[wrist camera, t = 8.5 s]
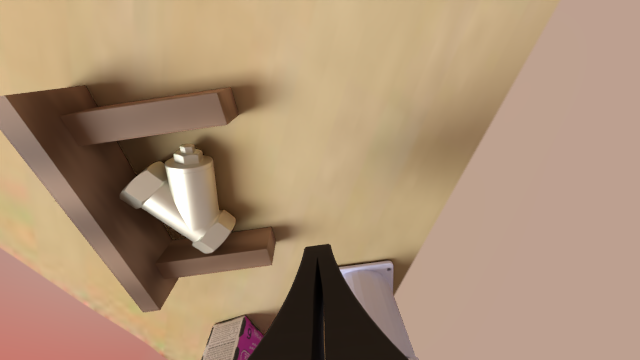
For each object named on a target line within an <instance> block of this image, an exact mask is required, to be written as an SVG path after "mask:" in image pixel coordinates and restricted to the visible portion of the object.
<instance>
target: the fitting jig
mask: <svg viewBox="0 0 640 360" xmlns="http://www.w3.org/2000/svg"><path fill="white" fill-rule="evenodd" d="M238 115H239V114H238V110H237V107H236V103H235V100H234V97H233V93H232V90H231V87H229V88H222V89H215V90H209V91H202V92H195V93H188V94H182V95H175V96H168V97H162V98H155V99H148V100H141V101H135V102H128V103H121V104H114V105H108V106H101V107H97V105H96V104H95V102H94V100H93V98H92V96H91V95H90V93H89V91H88V89H87V87H86V86H85V85H84V86H76V87H68V88H61V89H53V90H45V91H37V92H29V93H21V94H13V95H5V96H0V130H1V131H2V132H3V134H4V135H5V136H6V138H7V139H8V140H9V141H10V143H11V144H12V145H13V147H14V148H15V149H16V150H17V152H18V153H19V154H20V155H21V157H22V158H23V159H24V161H25V162H26V163H27V164H28V166H29V167H30V168H31V170H32V171H33V172H34V173H35V175H36V176H37V177H38V178H39V180H40V181H41V182H42V184H43V185H44V186H45V187H46V189H47V190H48V191H49V193H50V194H51V195H52V196H53V198H54V199H55V200H56V202H57V203H58V204H59V205H60V207H61V208H62V209H63V210H64V212H65V213H66V214H67V216H68V217H69V218H70V219H71V221H72V222H73V223H74V225H75V226H76V227H77V228H78V230H79V231H80V232H81V233H82V235H83V236H84V237H85V239H86V240H87V241H88V242H89V244H90V245H91V246H92V248H93V249H94V250H95V251H96V253H97V254H98V255H99V257H100V258H101V259H102V260H103V262H104V263H105V264H106V265H107V267H108V268H109V269H110V271H111V272H112V273H113V274H114V276H115V277H116V278H117V280H118V281H119V282H120V283H121V285H122V286H123V287H124V288H125V290H126V291H127V292H128V294H129V295H130V296H131V297H132V299H133V300H134V301H135V303H136V304H137V305H138V306H139V308H140V309H141V310H142V312H150V311H157V310H160V309H161V307H162V306H163V304H164V302H165V301H166V299H167V297H168V295H169V294H170V292H171V290H172V289H173V287H174V285H175V283H176V282H177V280H178V278H179V277H186V276H194V275H201V274H209V273H216V272H224V271H231V270H239V269H246V268H254V267H261V266H269V265H272V261H273V256H274V250H275V244H276V241H275V238H274V234H273V231H272V227H267V228H260V229H252V230H245V231H238V232H231V233H230V234H229V236H228V237H227V238H226V240H225V241H224V242H223V243H222V244H221V245H220V246H219V247H218V248H217V249H216V250H215V251H213V252H212V253H206V254H205V253H203V252H202V251H200V250H199V249H197V248H195V247H194V246H192V244H193V241H191V240H189V239H188V238H186V239H179V240H172V239H171V238H170V236H169V234H168V232H167V230H166V229H165V227H164V225H163V223H162V221H161V220H159V219H157V218H156V217H154V216H153V215H151V214H150V213H148V212H147V211H145V210H144V209H142V208H138V209H135V208H134V207H132V206H131V205H129V204H127V203H126V202H124V201H123V200H121V199H120V193H121V191H122V190H123V189H124V188H125V187H126V186H127V185H128V184H129V183H130V182H131V181H132V180H133V179H134V178H135V177H136V175H135V173H134V171H133V170H132V168H131V166H130V164H129V163H128V161H127V159H126V157H125V155H124V154H123V152H122V150H121V148H120V146H119V145H118V143H117V141H118V140H125V139H132V138H139V137H146V136H153V135H160V134H166V133H173V132H180V131H187V130H194V129H201V128H208V127H215V126H222V125H227V124H228V123H230V122H231V121H232V120H233V119H234V118H236V117H237V116H238Z"/></svg>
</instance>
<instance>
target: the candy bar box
mask: <svg viewBox="0 0 640 360" xmlns="http://www.w3.org/2000/svg"><path fill="white" fill-rule="evenodd" d="M263 337H264V336H263V335H262V333H261V332H260V331H259V330H258V329H257V328H256V327H255V326H254V325H253V324H252V322H251V321H250V320H249V319H248V318H247V317H246V316H245V315H244V316H239V317H236V318H233V319H230V320H228V321H224V322H221V323H218V324H215V325H213V328H212V331H211V334H210V336H209V339H208V342H207V345H206V348H205V350H204V353H203V356H202V359H201V360H247V359H248V358H249V356H250V355H251V354H252V352H253V351H254V350H255V348H256V347H257V345H258V344H259V342H260V341H261V340H262V338H263Z"/></svg>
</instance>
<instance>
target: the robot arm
mask: <svg viewBox="0 0 640 360" xmlns="http://www.w3.org/2000/svg"><path fill="white" fill-rule="evenodd" d="M324 322H325V354H324ZM247 360H419V359H418V358H417V357H416V356H415V354H414V351H413V348H412V345H411V343H410V340H409V337H408V334H407V332H406V329H405V326H404V323H403V320H402V318H401V315H400V312H399V309H398V307H397V304H396V301H395V298H394V296H393V263H392V261H382V262H375V263H367V264H360V265H352V266H344V267H338V265H337V263H336V261H335V258H334V255H333V253H332V249H331V245H329V244H325V245H317V246H310V247H306V248H305V249H304V253H303V257H302V261H301V264H300V267H299V269H298V272H297V275H296V277H295V280H294V282H293V284H292V287H291V289H290V291H289V293H288V295H287V298H286V300H285V302H284V303H283V305H282V307H281V309H280V311H279V313H278V314H277V316H276V318H275V319H274V321H273V323H272V324H271V326H270V328H269V329H268V331H267V332H266V334H265V335H264V337H263V338H262V340H261V341H260V342H259V344H258V345H257V347H256V348H255V350H254V351H253V352H252V354H251V355H250V356H249V358H248V359H247Z"/></svg>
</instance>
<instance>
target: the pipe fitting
mask: <svg viewBox="0 0 640 360" xmlns="http://www.w3.org/2000/svg"><path fill="white" fill-rule="evenodd" d="M120 199H121V200H123V201H124V202H126V203H127V204H129V205H131V206H132V207H134V208H135V209H138V208H142V209H144V210H145V211H147V212H148V213H150V214H151V215H153V216H154V217H156V218H157V219H159V220H161V221H162V222H164V223H165V224H167V225H168V226H170V227H171V228H173V229H174V230H176V231H177V232H179V233H180V234H182V235H183V236H185V237H186V238H188V239H189V240H191V241H193V244H192V246H194V247H195V248H197V249H199V250H200V251H202V252H203V253H205V254H206V253H212V252H213V251H215V250H216V249H217V248H218V247H219V246H220V245H221V244H222V243H223V242H224V241H225V240H226V238H227V237H228V236H229V234H230V233H231V231H232V230H233V228H234V226H235V221H236V218H235V217H233V216H232V215H231V214H229V213H228V212H227V211H225V210H221V211H220V210H219V205H218V197H217V188H216V180H215V172H214V164H213V159H212V158H211V157H210V156H207V155H203V153H202V151H201V150H199V149H195V146H194V145H193V144H183V145H181V146H180V150H178V151H176V152H175V153H174V157H173V158H171V159H169V160H167V161H166V162H165V164H164V163H162V162H161V161H159V162H155V163H153V164H151V165H150V166H149V167H147V168H146V169H145V170H143V171H142V172H141V173H140V174H139V175H138V176H136V177H135V178H134V179H133V180H132V181H131V182H130V183H129V184H128V185H127V186H126V187H125V188H124V189H123V190H122V191H121V193H120Z"/></svg>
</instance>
